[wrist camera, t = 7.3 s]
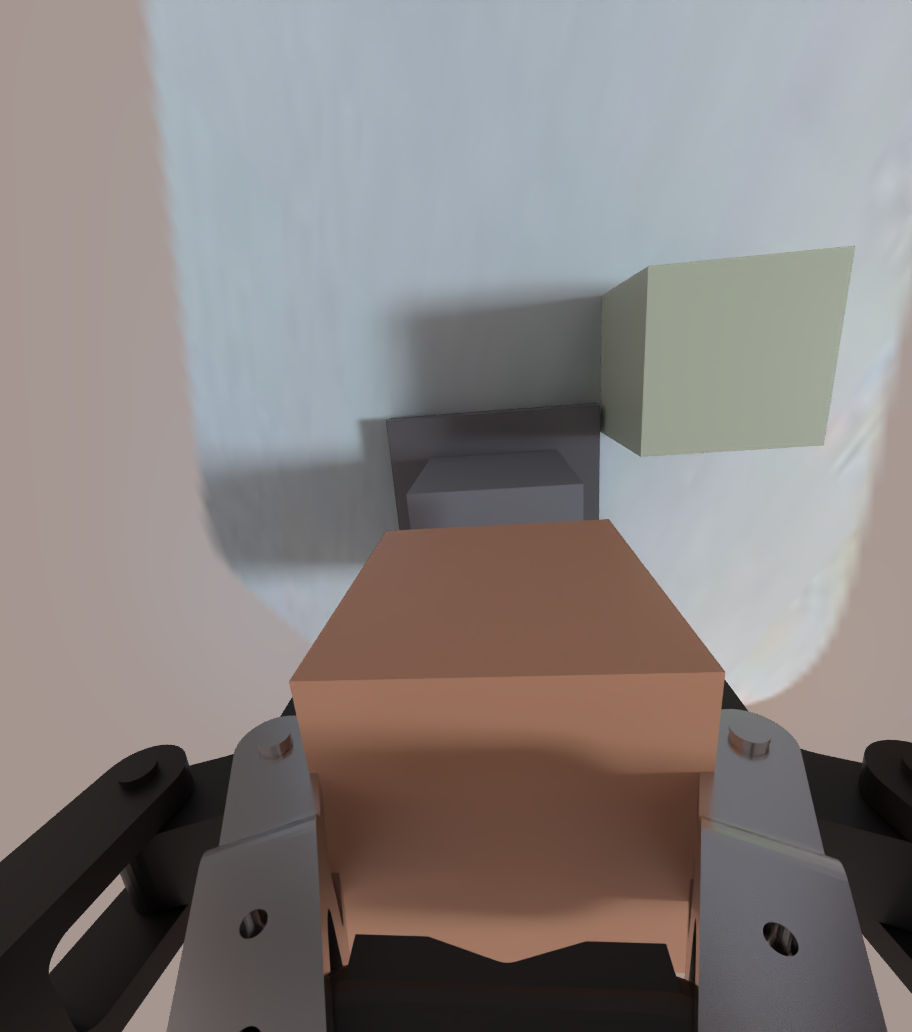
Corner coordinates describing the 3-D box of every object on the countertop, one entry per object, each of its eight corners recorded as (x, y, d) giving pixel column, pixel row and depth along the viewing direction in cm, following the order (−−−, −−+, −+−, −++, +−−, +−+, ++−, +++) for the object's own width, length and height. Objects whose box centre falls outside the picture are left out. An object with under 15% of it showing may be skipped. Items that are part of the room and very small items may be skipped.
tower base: (390, 418, 21) (344, 443, 15) (595, 403, 20) (645, 421, 14) (412, 597, 24) (381, 687, 17) (593, 590, 23) (634, 682, 16)
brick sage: (601, 295, 19) (648, 266, 13) (744, 281, 19) (855, 245, 13) (600, 431, 21) (640, 456, 15) (730, 422, 20) (823, 445, 15)
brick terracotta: (386, 530, 12) (289, 681, 6) (608, 519, 11) (724, 671, 6) (410, 710, 14) (350, 960, 8) (605, 707, 13) (694, 973, 7)
